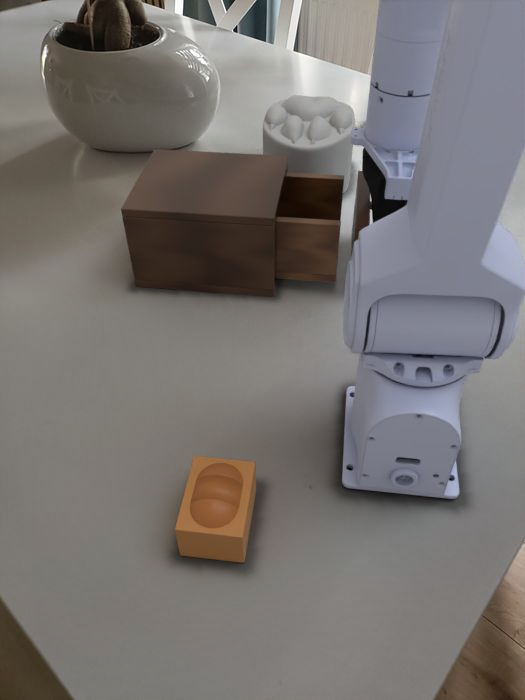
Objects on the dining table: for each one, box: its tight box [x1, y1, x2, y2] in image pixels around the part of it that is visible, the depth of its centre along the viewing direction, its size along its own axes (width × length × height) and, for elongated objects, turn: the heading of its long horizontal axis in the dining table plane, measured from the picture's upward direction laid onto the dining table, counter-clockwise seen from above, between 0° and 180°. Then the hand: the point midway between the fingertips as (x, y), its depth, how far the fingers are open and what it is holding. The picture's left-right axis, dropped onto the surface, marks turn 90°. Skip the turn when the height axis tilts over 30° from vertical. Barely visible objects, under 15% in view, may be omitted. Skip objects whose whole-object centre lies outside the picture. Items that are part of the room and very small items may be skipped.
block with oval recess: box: [174, 455, 257, 564], centre depth 40 cm, size 6×4×4 cm
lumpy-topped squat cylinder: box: [262, 94, 356, 194], centre depth 72 cm, size 10×13×9 cm
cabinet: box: [120, 148, 288, 297], centre depth 61 cm, size 14×12×9 cm
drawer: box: [275, 170, 372, 283], centre depth 60 cm, size 17×10×7 cm, turn 82°
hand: (384, 226), depth 59 cm, fingers closed, pressing on drawer
